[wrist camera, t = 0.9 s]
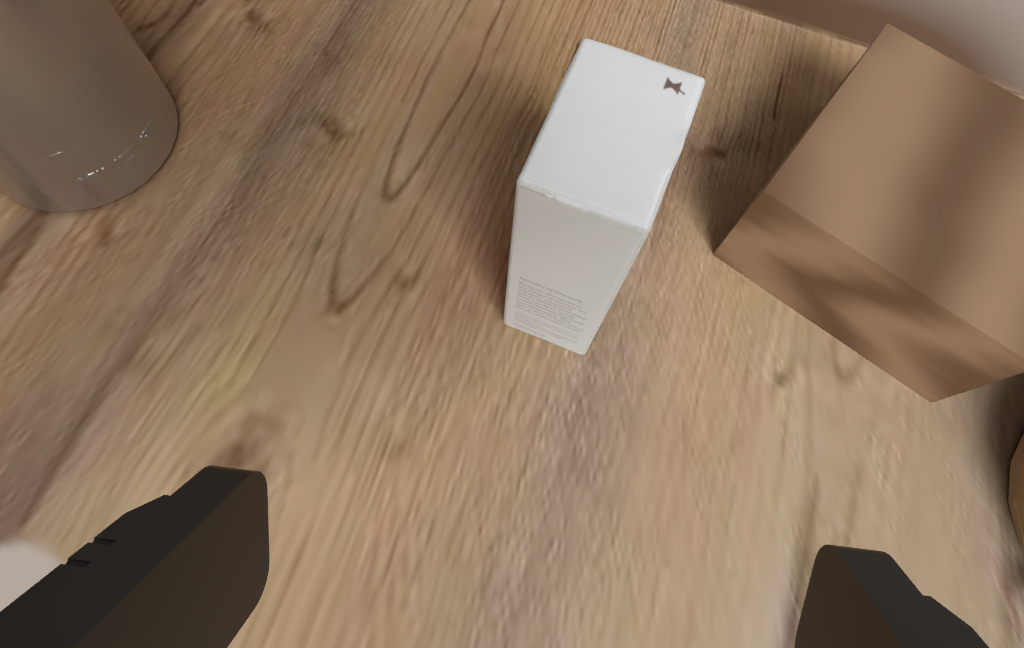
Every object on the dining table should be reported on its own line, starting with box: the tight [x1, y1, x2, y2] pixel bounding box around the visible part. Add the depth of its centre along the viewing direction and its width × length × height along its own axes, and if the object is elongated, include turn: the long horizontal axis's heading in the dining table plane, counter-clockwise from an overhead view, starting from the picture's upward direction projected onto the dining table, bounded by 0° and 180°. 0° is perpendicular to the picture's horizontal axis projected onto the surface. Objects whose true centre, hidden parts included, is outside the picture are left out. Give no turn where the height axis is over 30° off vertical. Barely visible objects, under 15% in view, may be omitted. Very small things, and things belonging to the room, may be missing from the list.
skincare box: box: [503, 39, 705, 355], centre depth 23 cm, size 6×4×12 cm
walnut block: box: [713, 24, 1024, 403], centre depth 28 cm, size 12×12×6 cm
